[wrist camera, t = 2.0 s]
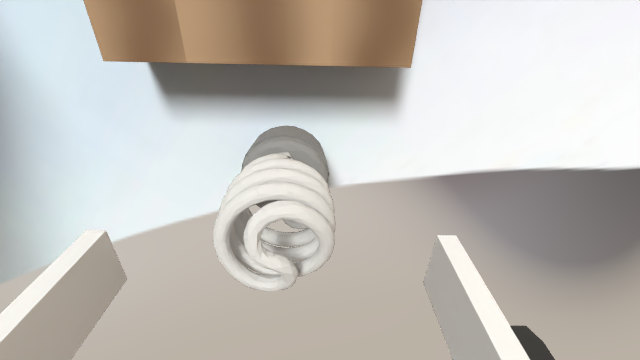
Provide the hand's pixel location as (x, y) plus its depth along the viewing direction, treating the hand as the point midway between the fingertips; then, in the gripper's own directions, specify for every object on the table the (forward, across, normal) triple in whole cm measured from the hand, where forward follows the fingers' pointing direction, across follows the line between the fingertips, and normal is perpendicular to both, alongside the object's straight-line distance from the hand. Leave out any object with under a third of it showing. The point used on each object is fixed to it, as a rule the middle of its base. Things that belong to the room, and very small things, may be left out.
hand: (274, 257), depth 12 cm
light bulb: (+12, 0, 0) cm, 12 cm away
